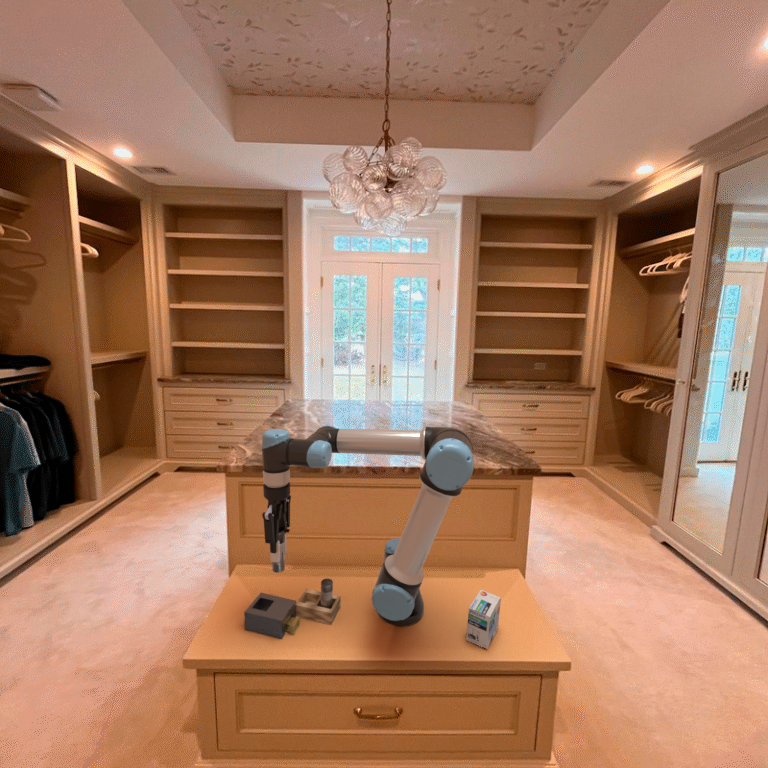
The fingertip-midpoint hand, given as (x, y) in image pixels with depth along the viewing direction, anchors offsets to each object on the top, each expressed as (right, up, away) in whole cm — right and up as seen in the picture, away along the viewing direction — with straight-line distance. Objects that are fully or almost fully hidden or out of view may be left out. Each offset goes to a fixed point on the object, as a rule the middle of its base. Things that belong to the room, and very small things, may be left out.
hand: (278, 557), depth 125 cm
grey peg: (0, -4, +1) cm, 4 cm away
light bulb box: (+61, -24, +1) cm, 65 cm away
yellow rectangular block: (0, -21, +1) cm, 21 cm away
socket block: (-3, -21, +1) cm, 21 cm away
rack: (+11, -20, +7) cm, 24 cm away
